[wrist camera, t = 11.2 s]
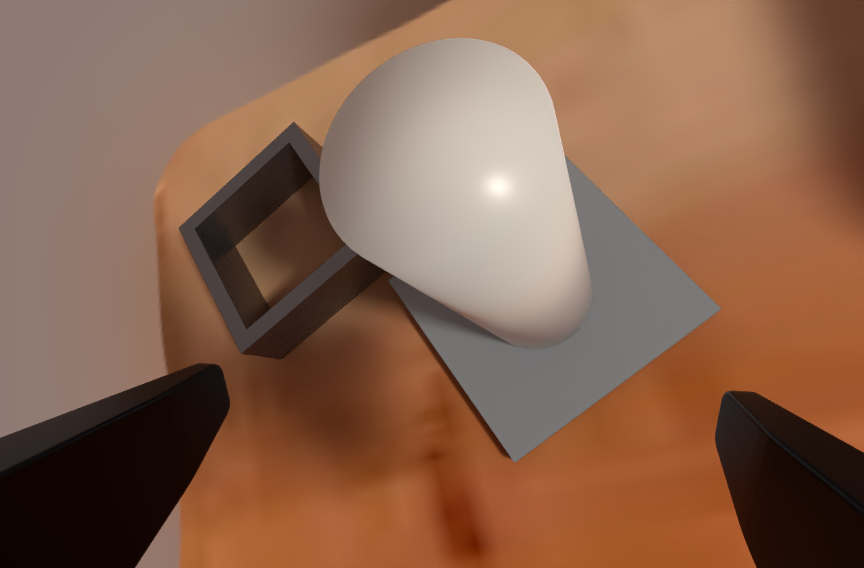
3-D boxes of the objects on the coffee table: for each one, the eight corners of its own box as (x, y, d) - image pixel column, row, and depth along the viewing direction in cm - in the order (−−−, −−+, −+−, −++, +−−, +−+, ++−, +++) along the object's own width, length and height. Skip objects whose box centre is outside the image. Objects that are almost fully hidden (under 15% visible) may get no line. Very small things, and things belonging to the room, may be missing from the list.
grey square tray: (403, 256, 24) (376, 237, 22) (281, 359, 25) (241, 353, 23) (325, 149, 28) (293, 121, 25) (220, 245, 29) (178, 228, 26)
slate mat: (718, 311, 19) (721, 308, 19) (517, 461, 20) (514, 462, 20) (553, 149, 23) (552, 143, 22) (393, 283, 24) (388, 280, 24)
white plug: (608, 333, 20) (591, 221, 8) (494, 361, 21) (335, 302, 9) (574, 226, 21) (518, -2, 9) (470, 259, 23) (306, 96, 11)
